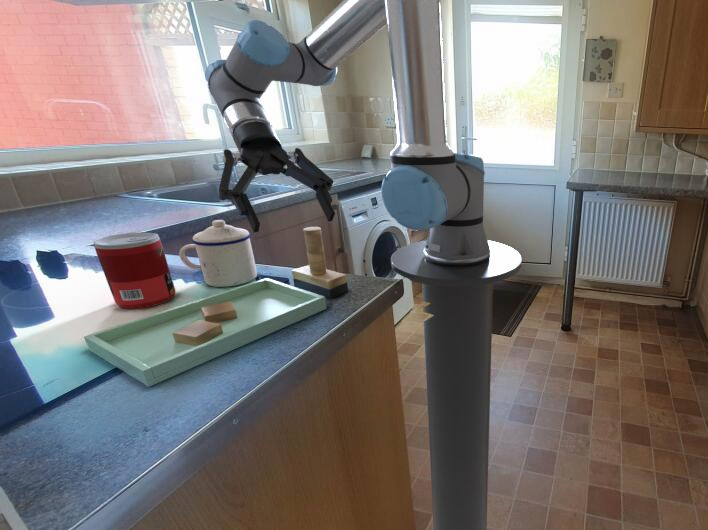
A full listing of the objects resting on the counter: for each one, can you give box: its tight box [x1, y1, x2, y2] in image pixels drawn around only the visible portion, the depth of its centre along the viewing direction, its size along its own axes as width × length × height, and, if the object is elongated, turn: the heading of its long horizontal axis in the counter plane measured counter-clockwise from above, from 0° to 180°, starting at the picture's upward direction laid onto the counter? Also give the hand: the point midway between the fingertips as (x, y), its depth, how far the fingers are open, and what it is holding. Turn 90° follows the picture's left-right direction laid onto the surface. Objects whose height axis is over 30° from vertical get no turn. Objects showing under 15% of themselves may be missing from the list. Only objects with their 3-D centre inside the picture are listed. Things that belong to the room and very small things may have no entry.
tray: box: [83, 277, 327, 388], centre depth 62 cm, size 26×16×2 cm, turn 152°
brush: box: [291, 226, 349, 299], centre depth 75 cm, size 4×10×12 cm, turn 62°
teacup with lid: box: [178, 219, 258, 288], centre depth 77 cm, size 12×9×12 cm
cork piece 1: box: [172, 320, 223, 346], centre depth 58 cm, size 4×4×2 cm
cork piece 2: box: [201, 301, 238, 323], centre depth 64 cm, size 4×4×2 cm
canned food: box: [93, 231, 176, 310], centre depth 68 cm, size 8×8×11 cm
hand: (296, 222), depth 77 cm, fingers open, 13 cm apart
